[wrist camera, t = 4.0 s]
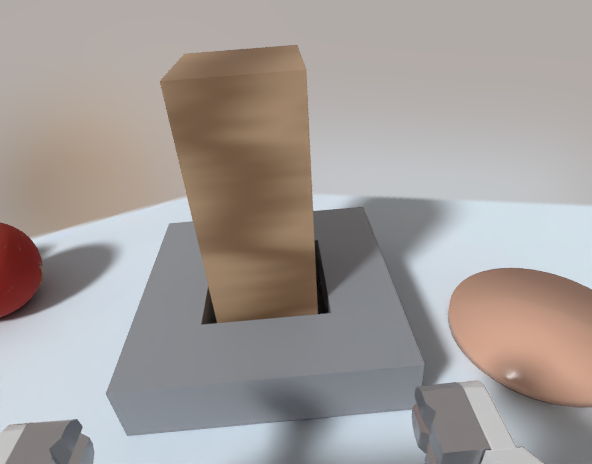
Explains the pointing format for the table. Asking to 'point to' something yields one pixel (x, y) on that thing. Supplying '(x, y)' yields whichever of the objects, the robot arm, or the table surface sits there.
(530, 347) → the terracotta coaster
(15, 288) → the kendama
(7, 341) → the table surface
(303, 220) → the walnut block
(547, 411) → the table surface
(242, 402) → the pocket holder
